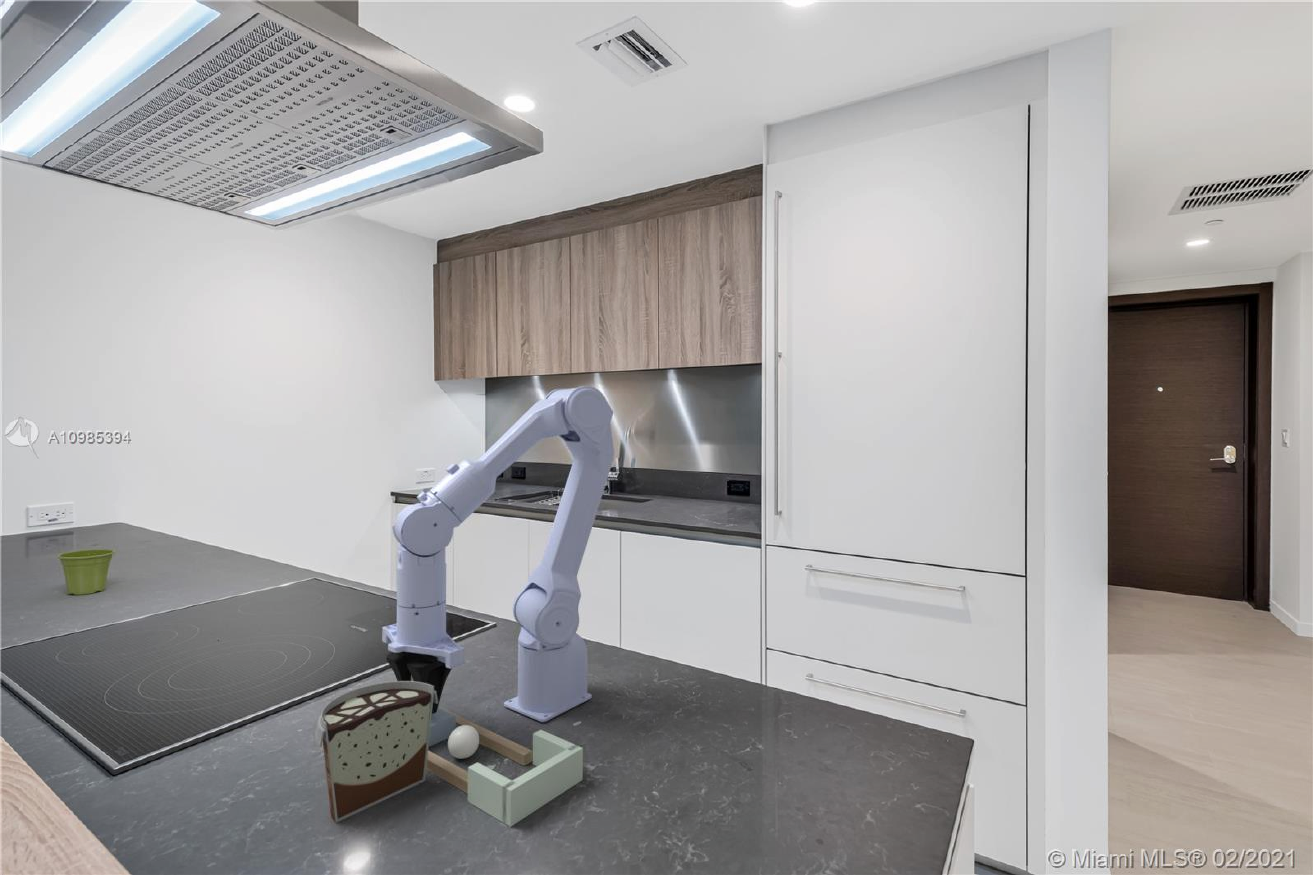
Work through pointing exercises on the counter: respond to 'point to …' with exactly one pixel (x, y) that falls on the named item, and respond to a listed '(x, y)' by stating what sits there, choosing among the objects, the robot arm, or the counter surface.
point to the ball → (463, 741)
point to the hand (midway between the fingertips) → (421, 710)
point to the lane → (486, 739)
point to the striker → (441, 725)
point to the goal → (527, 780)
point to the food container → (375, 743)
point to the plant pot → (86, 570)
